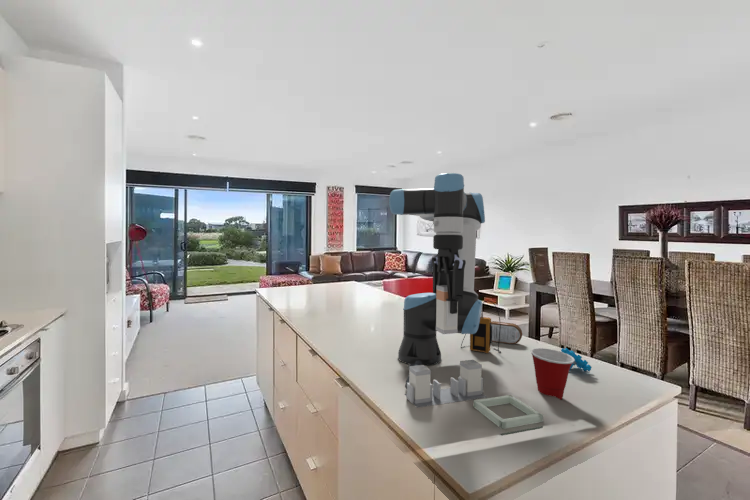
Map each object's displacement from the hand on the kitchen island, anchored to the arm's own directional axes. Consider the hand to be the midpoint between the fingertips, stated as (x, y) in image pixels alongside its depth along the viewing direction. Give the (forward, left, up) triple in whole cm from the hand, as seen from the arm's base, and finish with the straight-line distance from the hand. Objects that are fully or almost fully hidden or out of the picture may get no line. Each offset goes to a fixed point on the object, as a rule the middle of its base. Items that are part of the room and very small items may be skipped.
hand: (446, 323), depth 94 cm
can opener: (-11, -4, -21) cm, 24 cm away
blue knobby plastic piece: (-8, +52, -21) cm, 57 cm away
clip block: (0, 0, -21) cm, 21 cm away
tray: (+13, +9, -21) cm, 26 cm away
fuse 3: (0, +7, -19) cm, 20 cm away
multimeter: (-37, +37, -21) cm, 56 cm away
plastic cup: (+6, +29, -21) cm, 36 cm away
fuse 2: (0, 0, -2) cm, 2 cm away
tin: (-42, +50, -21) cm, 69 cm away
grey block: (0, -8, -19) cm, 20 cm away
